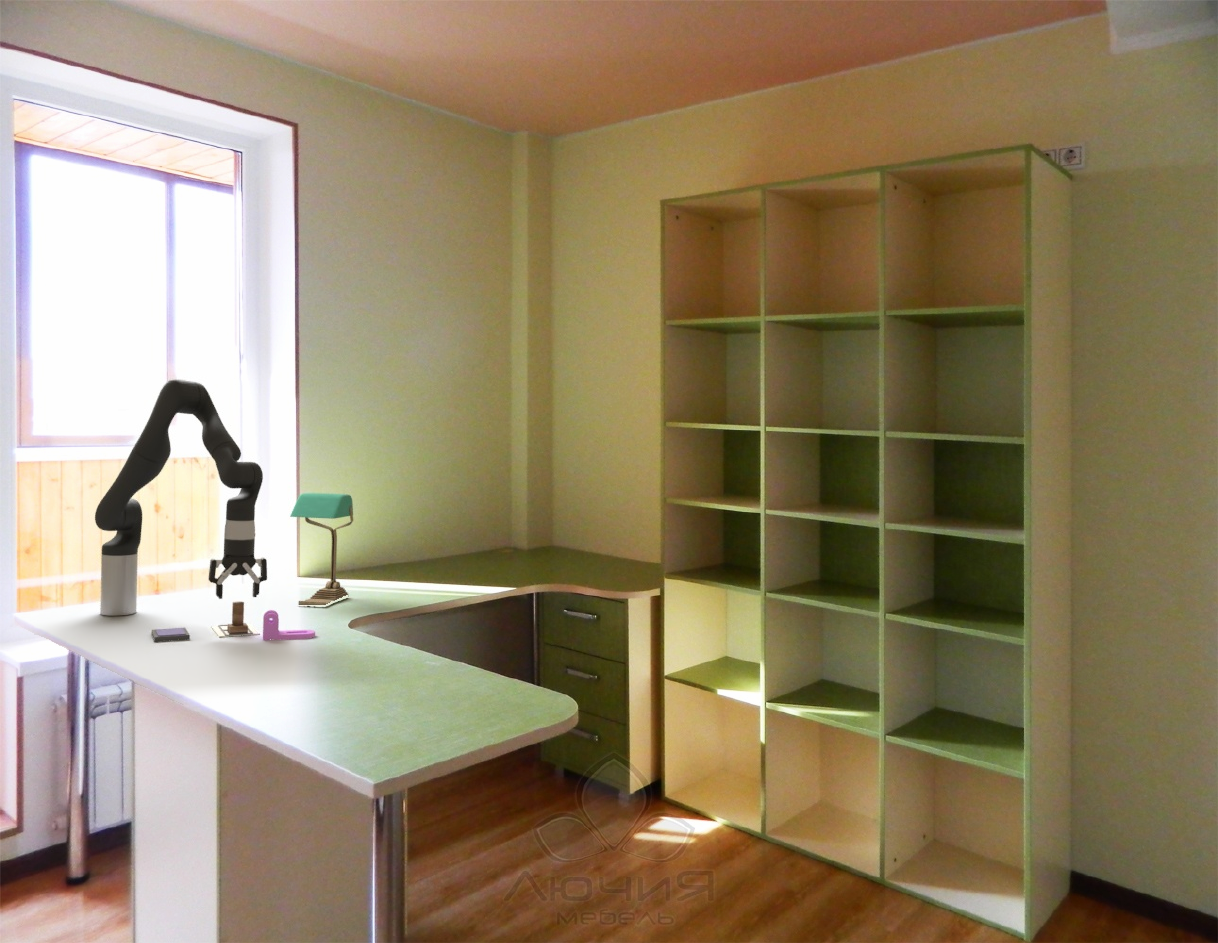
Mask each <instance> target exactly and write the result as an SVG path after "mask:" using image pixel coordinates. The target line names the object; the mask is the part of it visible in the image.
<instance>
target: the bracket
mask: <svg viewBox="0 0 1218 943" xmlns="http://www.w3.org/2000/svg"><path fill="white" fill-rule="evenodd" d="M262 619H263V622H262V625H263V626H262V641H278V640H279V641H283V639H286V640H304V639H306V638H309V639H313V638H312V637H314V638H315V637H316V630H314V629H313V630H312V629H289V630H287V629H286V630H280V629H279V624H280V622H279V620H280V618H279V613H278V611H275V610H273V609H269V610H267V611H266V612H265V613H264V614H263V618H262ZM270 639H271V640H270ZM272 639H274V640H272ZM280 639H281V640H280Z"/></svg>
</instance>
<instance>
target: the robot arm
mask: <svg viewBox="0 0 1218 943" xmlns="http://www.w3.org/2000/svg"><path fill="white" fill-rule="evenodd" d="M177 414H186V415H193V416H194V417H195V418H196V420H198V421H199V422H200V424H201V426H202V432H201V439H202V444H203V445H204V448H205V449H206V450H207V452H208V453H209V456H211V458H212V459H213V461H214V462H215V466H216V468H217V469H216V470H217V473H218V476H219V480H220V481H221V483H222V484H223V485H224V486H225V487H227V488H229V489H240V491H239V494H238V495H236V496H233V497H230V498H228V500H227V501H226V509H225V510H226V511H225V524H224V535H223V537H224V539H223V557H222V559H215V558H211V559H210V560H209V561H210V562H209V570H208V581H209V582H210V583H213V584H215V596H216V597H217V598H218V599H219V600H222V599H223V593H224V592H223V591H224V590H223V589H224V588H223V587H224V586H223V583H224V581H225V580H226V579H227V578H228V577H229V576H230V575H231V576H238V575H239V576H246V575H248V576H249V577H250V579H252V581H253V582H252V598H257V597H258V596H259V594H260V584H261V582H264V581H265V582H266V581H267V580H268V566H267V564H268V563H267V562H268V561H267V558H265V557H261V558H256V557H255V540H256V538H255V537H256V525H255V514H256V513H255V512H256V511H255V509H256V506H255V505H256V502H257V500H258V497H259V493H260V490H261V487H262V484H263V479H264V477H263V476H264V475H263V469H262V468H261V466H260V465H259V464H258V463H256V462H253V461H240V459H241V456H242V452H241V448H240V447H239V445H237V443H236V441H235V440H234V438H233V437H232V436H231V435H230V433H229V432H228V430H227V429H226V427H225V425H224V424H223V422H222V419H221V417H220V415H219V413H218V411H217V409H216V407H215V404H214V402H213V400H212V398H211V396H210V393H209V391H208V389H207V388H206V387H205V386H204V385H203V384H202V383H200V382H197V381H193V380H187V379H179V378H178V379H177V378H171V379H169V380H167V381H166V382H165V384H163V386H162V387H161V389H160V391H159V393H158V396H157V399H156V401H155V403H154V406H153V408H152V411H151V413H150V416H149V418H148V420H147V422H146V424H145V426H144V427H143V430H142V432H141V434H140V435H139V437H138V439H137V441H136V443H134V446H133V447H132V449H131V451H130V454H129V455H128V457H127V459H126V461H125V462H124V465H123V466H122V468H121V470H120V472H119V474H118V475H117V477H116V478H115V480H114V482H113V483H112V485H110V487H109V489H108V490H107V491H106V493H105V494H104V496H102V498H101V500H100V502H99V503H98V505H97V507H96V509H95V513H94V514H95V515H94V521H95V524H96V526H97V528H98V529H100V530H101V531H106V532H116V533H115V535H114V537H113V538H111V539H110V540H108V541H107V542H105V543H103V544H102V546H101V558H100V559H101V566H100V567H101V569H100V570H101V571H100V572H101V573H100V605H99V606H100V609H99V610H100V612H99V613H100V615H102V616H113V617H115V616H128V615H133V614H136V613H137V606H138V603H137V600H138V599H137V598H138V559H139V558H138V556H139V555H138V551H139V547H140V545H141V540H142V527H143V509H142V506H141V504H140V502H139V501H138V500H136V499H135V498H132V497H133V496H135V494H136V493H138V492H139V491H140V490H142V489H143V488H144V487H145V486H147V485H148V484H149V483H151V482H152V481H153V480H155V479H156V478H157V477H158V476H160V473H161V472H162V471H163V469H164V467H165V465H166V463H167V462H168V460H169V458H170V455H171V451H172V448H171V439H170V435H169V434H170V433H169V427H170V426H171V423H172V421H173V419H174V418H175V416H176V415H177ZM256 564H257V566H258V567H260V576H258V575H256V573H255V572H254V570H253V567H254V566H255V565H256ZM220 565H222V566H223V568H224V569H223V571H222V572H221V573H220V575H219V576H218V577H216V571H217V568H219V567H220Z"/></svg>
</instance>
